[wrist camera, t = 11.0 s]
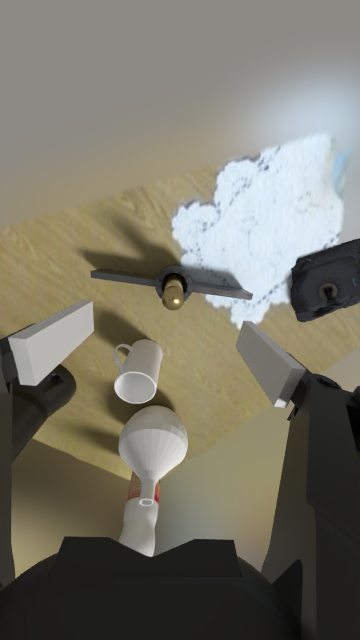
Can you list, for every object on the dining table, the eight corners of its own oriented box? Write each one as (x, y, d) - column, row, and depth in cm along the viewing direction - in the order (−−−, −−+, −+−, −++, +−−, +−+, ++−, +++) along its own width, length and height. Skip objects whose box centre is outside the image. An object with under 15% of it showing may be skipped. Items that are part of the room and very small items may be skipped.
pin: (166, 287, 37) (160, 308, 23) (168, 273, 36) (163, 287, 22) (180, 289, 37) (182, 311, 23) (182, 275, 36) (185, 290, 22)
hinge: (102, 287, 36) (91, 292, 32) (101, 254, 34) (89, 254, 29) (238, 306, 39) (246, 313, 34) (247, 275, 36) (257, 279, 31)
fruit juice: (146, 445, 57) (121, 608, 31) (167, 457, 59) (159, 615, 33) (130, 458, 59) (93, 618, 33) (150, 468, 62) (131, 625, 36)
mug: (114, 340, 41) (90, 371, 30) (141, 322, 40) (127, 349, 29) (142, 372, 45) (131, 410, 34) (168, 357, 44) (166, 393, 32)
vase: (118, 400, 49) (85, 484, 31) (179, 389, 48) (181, 470, 30) (137, 440, 56) (119, 527, 38) (191, 431, 54) (198, 517, 37)
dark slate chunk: (386, 295, 39) (413, 300, 34) (291, 323, 41) (305, 331, 37) (396, 224, 33) (430, 219, 29) (285, 261, 36) (301, 262, 31)
